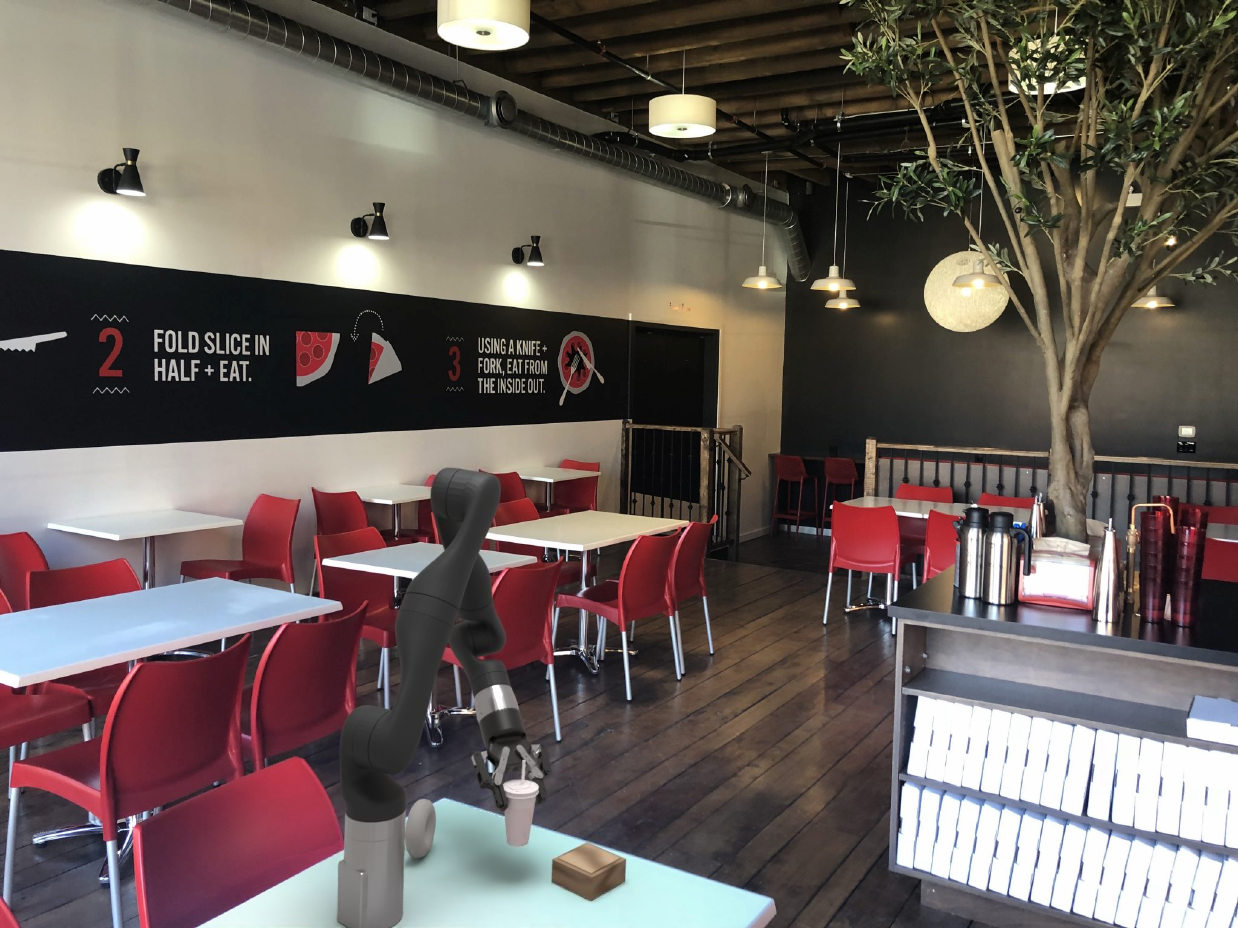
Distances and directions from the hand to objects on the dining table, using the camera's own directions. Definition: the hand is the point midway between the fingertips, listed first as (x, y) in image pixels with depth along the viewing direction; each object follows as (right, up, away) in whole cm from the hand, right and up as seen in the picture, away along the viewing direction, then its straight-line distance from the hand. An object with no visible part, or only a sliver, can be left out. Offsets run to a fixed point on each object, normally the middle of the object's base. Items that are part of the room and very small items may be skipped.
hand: (523, 805), depth 160 cm
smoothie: (-1, -7, +2) cm, 7 cm away
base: (+11, -14, +3) cm, 18 cm away
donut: (-20, -13, +10) cm, 25 cm away
